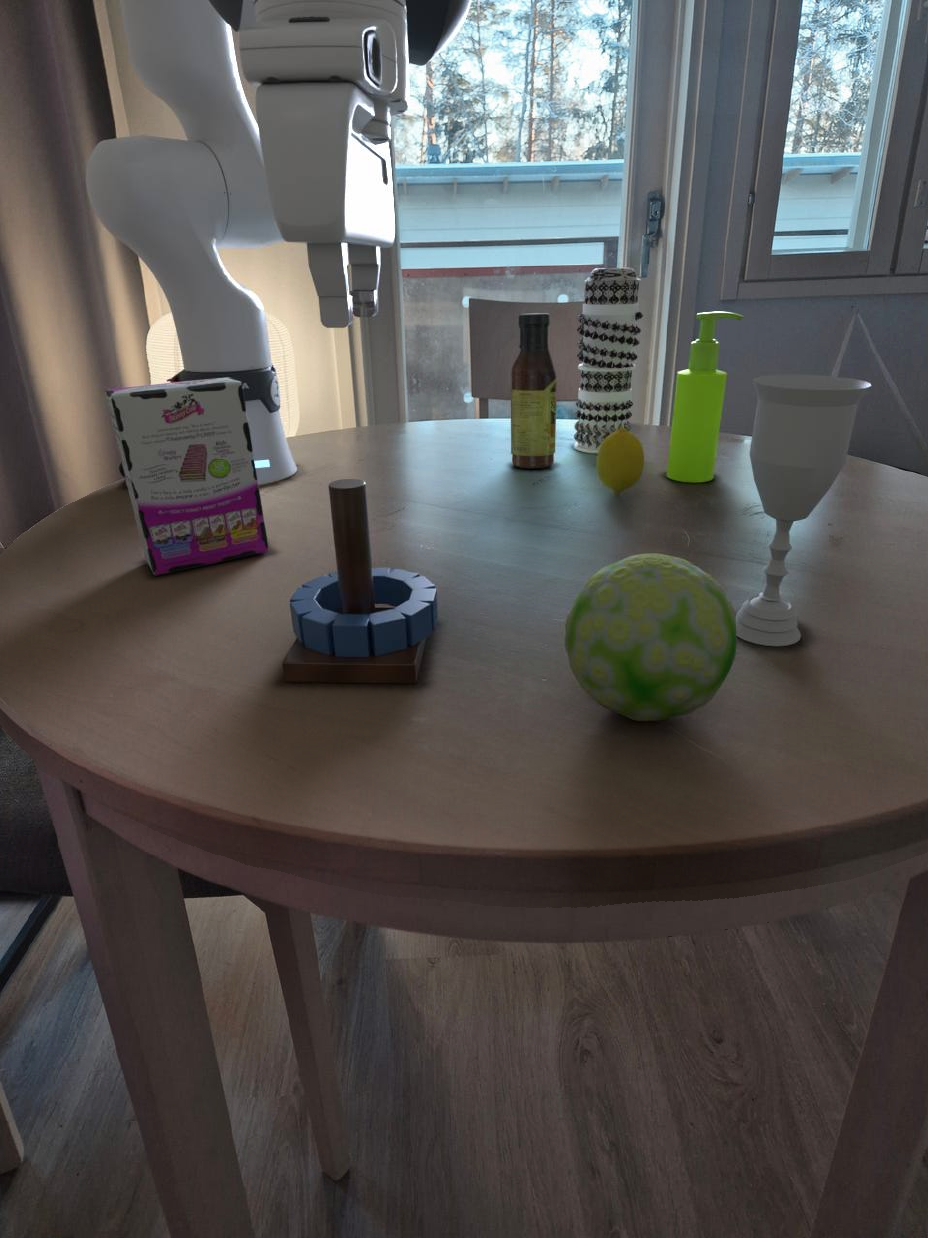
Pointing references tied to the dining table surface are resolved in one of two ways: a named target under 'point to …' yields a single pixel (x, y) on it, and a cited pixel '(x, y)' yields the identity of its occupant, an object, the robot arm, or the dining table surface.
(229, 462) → the candy bar box
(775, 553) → the chalice
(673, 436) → the soap dispenser
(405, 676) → the stand
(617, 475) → the lemon
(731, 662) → the decorative ball
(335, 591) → the bracelet
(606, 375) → the decorative candle
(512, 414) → the sauce bottle
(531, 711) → the dining table surface
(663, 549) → the dining table surface
